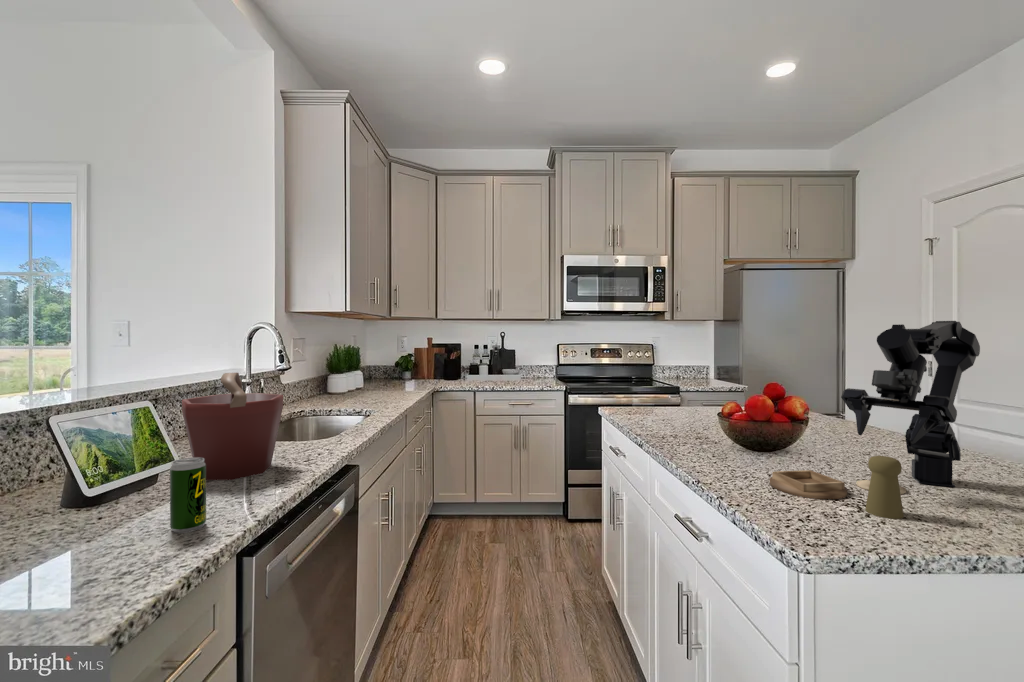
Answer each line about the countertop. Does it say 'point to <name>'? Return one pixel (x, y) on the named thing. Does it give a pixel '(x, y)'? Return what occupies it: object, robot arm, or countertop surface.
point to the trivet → (808, 484)
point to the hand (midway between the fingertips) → (884, 438)
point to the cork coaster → (865, 484)
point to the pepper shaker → (884, 488)
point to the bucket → (233, 430)
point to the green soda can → (187, 494)
